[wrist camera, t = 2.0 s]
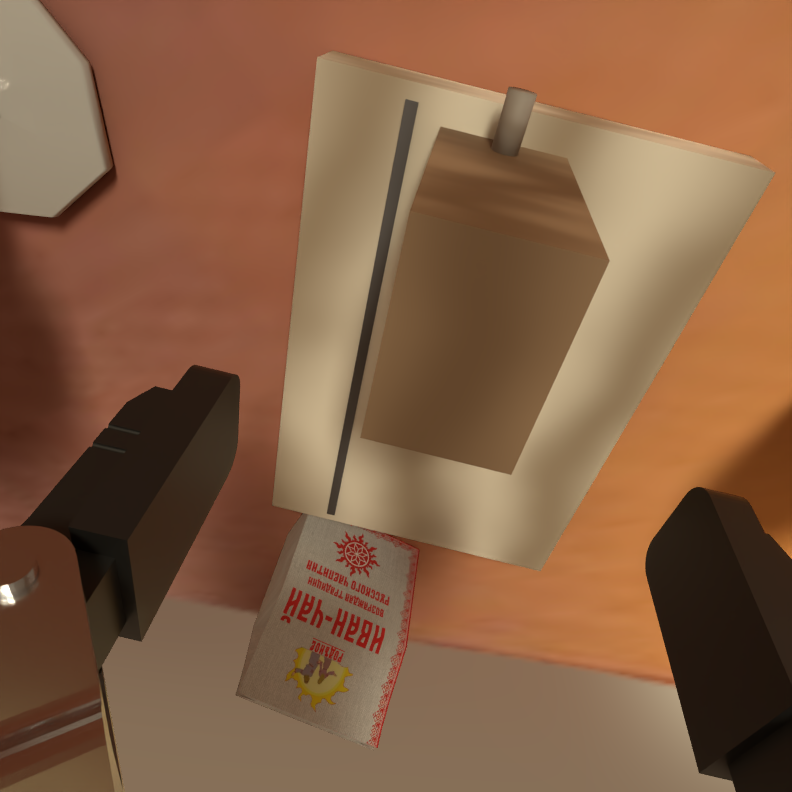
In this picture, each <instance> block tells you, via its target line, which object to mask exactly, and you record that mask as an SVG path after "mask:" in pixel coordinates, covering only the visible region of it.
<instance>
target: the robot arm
mask: <svg viewBox="0 0 792 792" xmlns="http://www.w3.org/2000/svg"><path fill="white" fill-rule="evenodd" d="M239 399H240V379H239V376H238V375H235V374H231V373H227V372H223V371H219V370H214V369H210V368H206V367H202V366H198V365H193V366H191V367H190V368H189V369H188V371H187V372H186V373H185V374H184V376H183V377H182V378H181V380H180V381H179V382H178V384H177V385H176V386H175V388H174V389H173V390H168V389H164V388H160V387H156V386H155V387H153V388H151V389H150V390H148V391H146V392H144V393H142V394H141V395H139V396H137V397H135V398H134V399H132V400H130V401H128V402H127V403H126V404H125V405H124V406H123V408H122V409H121V410H120V411H119V412H118V413H117V415H116V416H115V417H114V418H113V419H112V420H111V422H110V423H109V426H108V428H105V429H104V430H103V431H102V432H101V433H100V435H99V436H98V437H97V438H96V439H95V440H94V442H93V446H92V447H89V448H88V449H87V450H86V451H85V452H84V453H83V455H82V456H81V457H80V458H79V459H78V460H77V462H76V463H75V464H74V465H73V466H72V468H71V469H70V470H69V471H68V472H67V473H66V475H65V476H64V477H63V478H62V479H61V480H60V482H59V483H58V484H57V485H56V486H55V488H54V489H53V490H52V491H51V492H50V493H49V495H48V496H47V497H46V498H45V499H44V500H43V502H42V503H41V504H40V505H39V506H38V508H37V509H36V510H35V511H34V512H33V513H32V515H31V516H30V517H29V518H28V519H27V520H26V521H25V522H24V523H23V524H22V525H21V526H16V527H11V528H6V529H2V530H0V792H125V789H124V784H123V778H122V773H121V767H120V762H119V756H118V751H117V745H116V740H115V734H114V729H113V723H112V717H111V712H110V706H109V701H108V695H107V690H106V684H105V678H104V673H103V668H102V664H103V663H104V661H105V659H106V657H107V656H108V654H109V652H110V650H111V648H112V647H113V645H114V643H115V641H116V639H117V638H118V636H120V637H124V638H128V639H133V640H137V641H142V640H143V638H144V636H145V634H146V632H147V630H148V628H149V626H150V624H151V622H152V620H153V618H154V617H155V615H156V613H157V611H158V609H159V607H160V605H161V603H162V601H163V599H164V597H165V596H166V594H167V592H168V590H169V588H170V586H171V584H172V582H173V580H174V578H175V576H176V574H177V572H178V571H179V569H180V567H181V565H182V563H183V561H184V559H185V557H186V555H187V553H188V551H189V549H190V548H191V546H192V544H193V542H194V540H195V538H196V536H197V534H198V532H199V530H200V528H201V526H202V525H203V523H204V521H205V519H206V517H207V515H208V513H209V511H210V509H211V507H212V505H213V503H214V501H215V500H216V498H217V496H218V494H219V492H220V490H221V488H222V486H223V484H224V482H225V480H226V478H227V477H228V474H229V472H230V470H231V467H232V464H233V461H234V458H235V454H236V449H237V443H238V424H239ZM645 569H646V576H647V580H648V584H649V587H650V591H651V595H652V599H653V602H654V606H655V610H656V614H657V617H658V621H659V625H660V628H661V632H662V636H663V640H664V643H665V647H666V651H667V655H668V658H669V662H670V666H671V670H672V673H673V677H674V681H675V685H676V688H677V692H678V696H679V699H680V703H681V707H682V711H683V714H684V718H685V722H686V725H687V729H688V733H689V736H690V740H691V744H692V747H693V752H694V755H695V759H696V763H697V767H698V770H699V773H701V774H705V775H709V776H714V777H718V778H722V779H727V780H731V781H733V784H734V787H735V790H736V792H792V559H791V558H790V557H789V556H788V555H787V554H786V552H785V551H784V550H783V549H782V548H781V547H780V546H779V545H778V543H777V542H776V541H775V540H774V539H773V538H772V537H771V536H770V535H769V534H766V533H765V532H764V530H763V528H762V526H761V524H760V523H759V521H758V519H757V517H756V515H755V513H754V511H753V509H752V507H751V505H750V503H749V502H748V501H747V500H746V499H744V498H742V497H739V496H735V495H731V494H727V493H722V492H718V491H714V490H710V489H706V488H702V487H696V488H693V489H691V490H690V491H689V492H688V493H687V494H686V495H685V497H684V498H683V499H682V501H681V502H680V503H679V505H678V506H677V508H676V509H675V510H674V512H673V513H672V514H671V516H670V517H669V518H668V520H667V521H666V522H665V524H664V525H663V526H662V528H661V529H660V530H659V532H658V533H657V534H656V536H655V537H654V538H653V540H652V541H651V543H650V545H649V548H648V551H647V555H646V563H645Z"/></svg>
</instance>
